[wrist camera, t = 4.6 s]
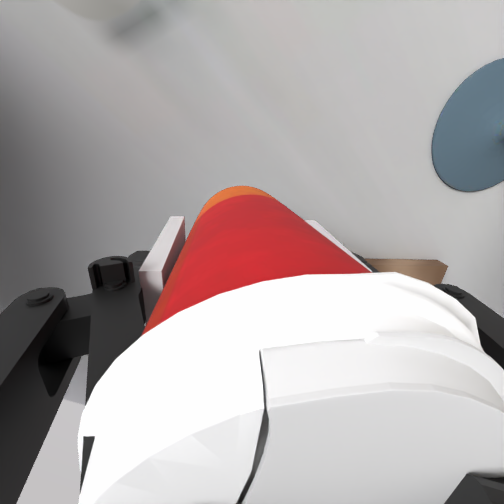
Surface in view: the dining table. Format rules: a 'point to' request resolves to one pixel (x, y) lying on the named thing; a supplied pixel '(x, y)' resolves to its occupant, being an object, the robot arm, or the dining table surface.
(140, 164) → the dining table surface
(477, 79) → the cocktail glass
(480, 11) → the dining table surface
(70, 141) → the dining table surface
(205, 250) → the coffee cup
